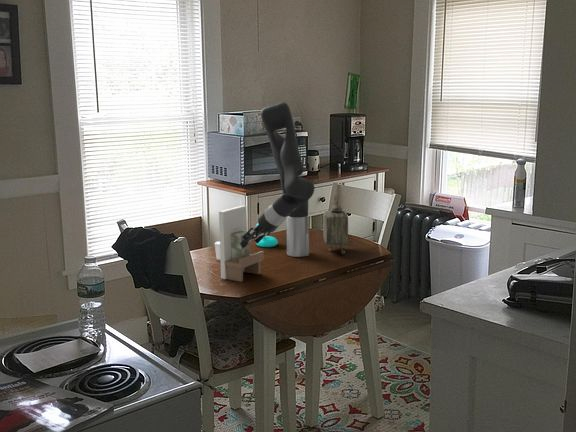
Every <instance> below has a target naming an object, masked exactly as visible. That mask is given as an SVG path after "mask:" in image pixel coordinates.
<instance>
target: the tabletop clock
mask: <svg viewBox="0 0 576 432" xmlns="http://www.w3.org/2000/svg"><path fill="white" fill-rule="evenodd" d="M338 204H339V198H338V195H337V194H335V195H334V205H332V206H331V208H330V210H327V211H325V212H323V216H322V217H323V218H322V220H323V221H322V222H323V223H322V224H323V225H322V229H323V231H322V233H323V234H322V236H323V240H324V243H325V244H326V245H328V246H330V247H329V248H328V251H329V252H332V251H333V246H337V248H338V249H340V250H341V252H340V253H341V255H345V253H346V251H345V250H343V247H342V246H348V244H349V215H348V213H347V211H346V210H345V209H344V210H343V209H342V207H341V206H340V205H338Z"/></svg>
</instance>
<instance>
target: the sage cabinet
mask: <svg viewBox="0 0 576 432" xmlns="http://www.w3.org/2000/svg"><path fill="white" fill-rule="evenodd" d="M247 232H248V231H247ZM247 232H245V231H238V232H235V233H231V246H232V259H234V260H239V259H241V258H244V257H246V256H249V255H250V254H251V241H250V242H249V243H248V244H247V246H246V247H245V248H242V246H241V245H240V243H241V242H242V241H243V240H244V239H243V238H242V237H243V236H244V235H245V234H246V233H247Z"/></svg>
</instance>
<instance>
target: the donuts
mask: <svg viewBox="0 0 576 432" xmlns="http://www.w3.org/2000/svg"><path fill="white" fill-rule="evenodd" d="M257 225H258V223H256V225H255V226H257ZM277 229H278V228H277ZM277 229H276V230H275V231H277ZM275 231H274V232H275ZM278 243H279V242H278V239H277V238H276V237H274V236H271V235H268V236H267V235H266V237H264V238H263V239H262V240H261V241H260V242H259V243H256V242H255V244H256V246H257V247H259V248H271V247H275V246H277V245H278Z"/></svg>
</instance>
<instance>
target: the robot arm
mask: <svg viewBox="0 0 576 432" xmlns="http://www.w3.org/2000/svg"><path fill="white" fill-rule="evenodd" d="M260 118H261V122H262V124H263V125H262V126H263V128H264V130H265V132H266V133H265V134H266V135H267V138H268V141H269V144H270V148H271V151H272V156H273V159H274V163H275V165H276V168H277V171H278V176H279V179H280V185H281V190H282V194H280V195H279V196H278V197H277V198H276V199H275V200H274V201H273V202H272V204H270V205H268V207H267V208H266V209H265V210H264V211H263V213H262V214H261V215H260V216H259V217H258V218H257V219H258V220H257V222H258V223H257V224H258V225H257V224H256V225H257V226H256V225H255V226H254V228H253V227H250V229H248V230H247V233H246V234H245V235H244V236H243V237H242V238H243V239H244V240H243V241H242V242H241V243H240V245H241V246H242V248H245V247H246V246H247V244H248V243H249V242H250V243H251V242H252V241H253V240H254V242H255V244H256V243H259V242H260V241H261V240H262V239H263V238H264V237H266V236H270V235H271V234H272V233H274V232H275V230H276V229H278V227H280V226H281V225H282V224H283V222H284V221H285V220H286V255H287V256H289V257H293V258H296V257H297V258H299V257H307V256H308V257H309V256H310V234H309V200H310V199H311V198H312V197H313V195H314V193H315V184H314V182H313V181H311V180H309V179H307V178H303V177H300V176H301V175H302V174H303V173H304V170H305V167H304V164H303V159H302V158H301V155H300V151H299V147H298V140H297V133H296V129H295V125H294V120H293V119H294V118H293V116H292V112H291V108H290V106H289V105H288V103H287V102H279V103H275V104H273V105H269V106H265V107H264V108H262V109H261V111H260ZM282 129H286V130H285V136H283V135H281V134H280V133H278V132H277V131H278V130H282ZM276 231H277V230H276Z"/></svg>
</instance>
